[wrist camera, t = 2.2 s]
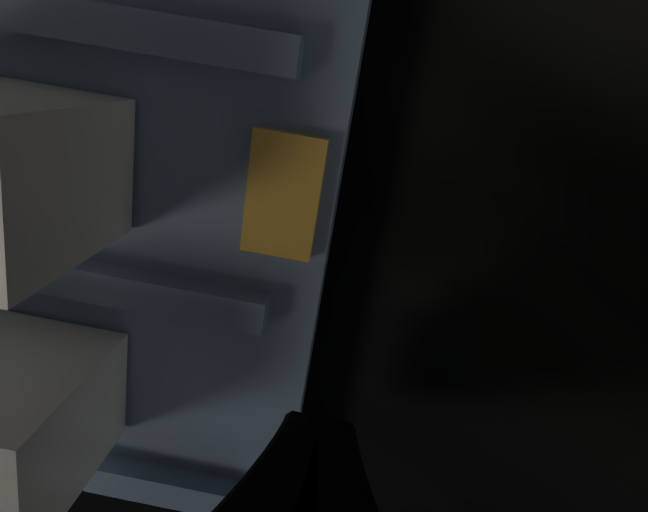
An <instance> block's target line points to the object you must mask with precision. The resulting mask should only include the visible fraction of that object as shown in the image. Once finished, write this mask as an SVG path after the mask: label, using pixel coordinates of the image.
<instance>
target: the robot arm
mask: <svg viewBox="0 0 648 512" xmlns="http://www.w3.org/2000/svg"><path fill="white" fill-rule="evenodd" d="M211 512H379V510H378V508H377V505H376V502H375V499H374V496H373V494H372V491H371V488H370V485H369V482H368V479H367V476H366V473H365V470H364V466H363V463H362V459H361V455H360V451H359V447H358V443H357V437H356V430H355V427H354V426H353V424H352V423H351V422H348V421H343V420H338V419H333V418H328V417H323V416H318V415H313V414H307V413H302V412H297V411H291V412H289V413H287V414H286V415H285V417H284V420H283V422H282V423H281V425H280V427H279V428H278V430H277V432H276V433H275V435H274V436H273V438H272V439H271V441H270V442H269V444H268V445H267V446H266V448H265V449H264V451H263V452H262V453H261V455H260V456H259V457H258V458H257V460H256V461H255V462H254V463H253V465H252V466H251V467H250V469H249V470H248V471H247V472H246V474H245V475H244V476H243V477H242V478H241V480H240V481H239V482H238V483H237V484H236V485H235V486H234V487H233V488H232V490H231V491H230V492H229V493H228V494H227V495H226V496H225V497H224V498H223V499H222V501H221V502H220V503H219V504H218V505H217V506H216V507H215V508H214V509H213V510H212V511H211Z"/></svg>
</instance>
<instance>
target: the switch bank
mask: <svg viewBox="0 0 648 512" xmlns="http://www.w3.org/2000/svg"><path fill="white" fill-rule="evenodd" d="M371 4H372V0H0V76H2V77H8V78H14V79H20V80H25V81H31V82H37V83H43V84H48V85H54V86H60V87H66V88H71V89H77V90H83V91H89V92H94V93H100V94H106V95H112V96H117V97H123V98H129V99H135V100H136V104H135V135H134V165H133V196H132V226H131V231H130V232H129V233H127V234H126V235H124V236H123V237H121V238H119V239H118V240H116V241H115V242H113V243H112V244H110V245H109V246H107V247H106V248H104V249H102V250H101V251H99V252H98V253H96V254H95V255H93V256H92V257H90V258H88V259H87V260H85V261H84V262H82V263H81V264H79V265H78V266H76V267H74V268H73V269H71V270H70V271H68V272H67V273H65V274H64V275H62V276H61V277H59V278H57V279H56V280H54V281H53V282H51V283H50V284H48V285H47V286H45V287H43V288H42V289H40V290H39V291H37V292H36V293H34V294H33V295H31V296H29V297H28V298H26V299H25V300H23V301H22V302H20V303H19V304H17V305H16V306H14V307H12V308H11V309H9V310H6V311H11V312H16V313H21V314H26V315H32V316H37V317H42V318H47V319H52V320H57V321H63V322H68V323H73V324H78V325H83V326H89V327H94V328H99V329H104V330H109V331H115V332H120V333H125V334H128V349H127V379H126V410H125V431H124V432H123V434H122V435H121V437H120V438H119V439H118V441H117V442H116V444H115V445H114V447H113V448H112V449H111V451H110V452H109V454H108V455H107V456H106V458H105V459H104V461H103V462H102V463H101V465H100V466H99V468H98V469H97V470H96V472H95V473H94V475H93V476H92V478H91V479H90V480H89V482H88V483H87V485H86V486H85V487H84V489H83V490H82V491H86V492H91V493H95V494H100V495H105V496H110V497H115V498H120V499H124V500H129V501H134V502H139V503H144V504H149V505H154V506H158V507H163V508H168V509H173V510H178V511H183V512H211V511H212V510H213V509H214V508H215V507H216V506H217V505H218V504H219V503H220V502H221V501H222V499H223V498H224V497H225V496H226V495H227V494H228V493H229V492H230V491H231V490H232V488H233V487H234V486H235V485H236V484H237V483H238V482H239V481H240V480H241V478H242V477H243V476H244V475H245V474H246V472H247V471H248V470H249V469H250V467H251V466H252V465H253V463H254V462H255V461H256V460H257V458H258V457H259V456H260V455H261V453H262V452H263V451H264V449H265V448H266V446H267V445H268V444H269V442H270V441H271V439H272V438H273V436H274V435H275V433H276V432H277V430H278V428H279V427H280V425H281V423H282V422H283V420H284V417H285V415H286V414H287V413H289V412H291V411H297V412H302V408H303V402H304V396H305V390H306V384H307V379H308V373H309V367H310V361H311V355H312V349H313V343H314V338H315V332H316V326H317V320H318V314H319V308H320V302H321V297H322V291H323V285H324V279H325V273H326V267H327V262H328V256H329V250H330V244H331V238H332V232H333V226H334V221H335V215H336V209H337V203H338V197H339V191H340V186H341V180H342V174H343V168H344V162H345V156H346V150H347V145H348V139H349V133H350V127H351V121H352V115H353V109H354V104H355V98H356V92H357V86H358V80H359V74H360V69H361V63H362V57H363V51H364V45H365V39H366V33H367V28H368V22H369V16H370V10H371ZM0 310H3V309H0Z"/></svg>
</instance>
